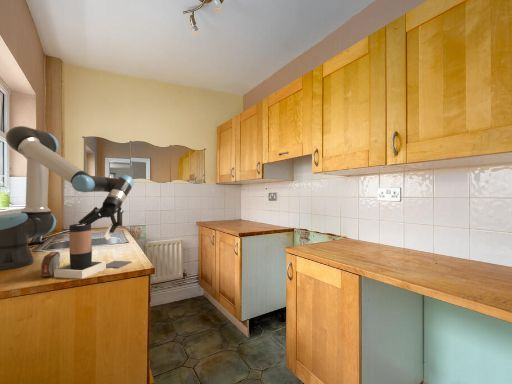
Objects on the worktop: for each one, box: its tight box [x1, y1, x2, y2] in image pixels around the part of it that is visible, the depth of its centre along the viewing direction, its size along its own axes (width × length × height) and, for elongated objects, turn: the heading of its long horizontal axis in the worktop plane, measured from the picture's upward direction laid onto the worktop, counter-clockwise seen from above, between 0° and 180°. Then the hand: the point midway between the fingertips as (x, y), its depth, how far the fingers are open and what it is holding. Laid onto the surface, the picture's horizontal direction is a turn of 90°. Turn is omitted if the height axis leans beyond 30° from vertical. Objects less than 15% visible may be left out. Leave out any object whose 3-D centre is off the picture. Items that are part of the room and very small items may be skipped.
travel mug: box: [68, 223, 93, 270], centre depth 107 cm, size 8×8×20 cm
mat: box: [106, 260, 132, 269], centre depth 118 cm, size 9×9×1 cm
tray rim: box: [53, 260, 107, 280], centre depth 107 cm, size 13×13×3 cm
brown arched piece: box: [40, 251, 61, 278], centre depth 106 cm, size 15×3×8 cm, turn 24°
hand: (91, 238), depth 110 cm, fingers open, 13 cm apart
